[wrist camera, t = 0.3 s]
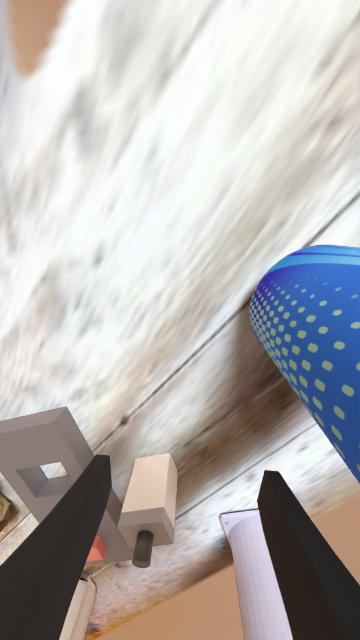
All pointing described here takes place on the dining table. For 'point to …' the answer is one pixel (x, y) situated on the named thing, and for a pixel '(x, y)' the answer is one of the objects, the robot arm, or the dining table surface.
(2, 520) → the stone tool
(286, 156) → the dining table surface
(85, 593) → the paper towel roll
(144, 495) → the plug
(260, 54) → the dining table surface
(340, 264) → the beer can
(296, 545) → the robot arm
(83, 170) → the dining table surface
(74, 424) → the power strip
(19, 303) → the dining table surface
